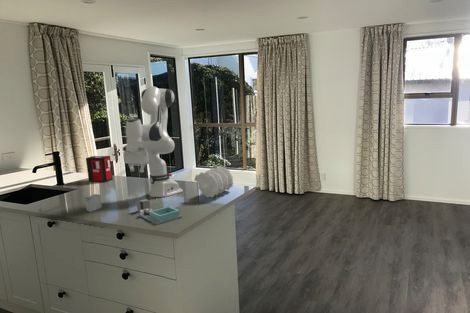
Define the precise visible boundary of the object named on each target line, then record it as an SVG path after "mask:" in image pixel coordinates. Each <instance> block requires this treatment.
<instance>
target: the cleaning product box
mask: <svg viewBox="0 0 470 313" xmlns="http://www.w3.org/2000/svg"><path fill="white" fill-rule="evenodd" d="M111 160H112V159H111V156H110V155H94V156H93V155H92V156H88V157H86V158H85V161H86V169H87V178H88V183H108V182H110V181H113V178H114V177H113V170H112V169H113V168H112V161H111Z"/></svg>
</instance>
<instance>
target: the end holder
mask: <svg viewBox="0 0 470 313" xmlns="http://www.w3.org/2000/svg"><path fill="white" fill-rule="evenodd" d="M149 211H150V210H149ZM168 212H170V213H168ZM164 213H166V214H164ZM161 214H163V215H161ZM180 215H181V213H180V209H177V208H175V207H172V206H170V205H168V206H166V207H162V208H157V209H154V211H153V210H152V211H150V217H152V218H154V219H156V220H158V221H163V220H167V219H170V218H174V217H177V216H180Z"/></svg>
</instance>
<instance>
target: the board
mask: <svg viewBox="0 0 470 313" xmlns="http://www.w3.org/2000/svg"><path fill="white" fill-rule="evenodd" d="M154 210H155V209H154ZM154 210H153V209H152V208H150V210H149V209H143V210H140V212H139V214H138V216H139V217H140V218H142V219H144V220H145V221H146V220H147V221H148V222H150V223H152V224H154V225H156V226H159V225H161V224H165V223H168V222H173V221H174V220H178V219H181V218H183V217H182V215H181V214H180V216H177V217H174V218H170V219H167V220H163V221H158V220H156V219H154V218H152V217H150V215H144V211H145V212H147V213H148V212H149V213H150V211H154ZM168 213H170V212H168ZM164 214H166V213H164ZM161 215H163V214H161Z"/></svg>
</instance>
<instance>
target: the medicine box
mask: <svg viewBox="0 0 470 313" xmlns="http://www.w3.org/2000/svg"><path fill="white" fill-rule="evenodd" d="M84 200H85V208H86V212H89V213H92V212H95V211H97V210H100V209H103V207H102V199H101V194H96V193H95V194H92V195H88V196H86V197H84Z"/></svg>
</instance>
